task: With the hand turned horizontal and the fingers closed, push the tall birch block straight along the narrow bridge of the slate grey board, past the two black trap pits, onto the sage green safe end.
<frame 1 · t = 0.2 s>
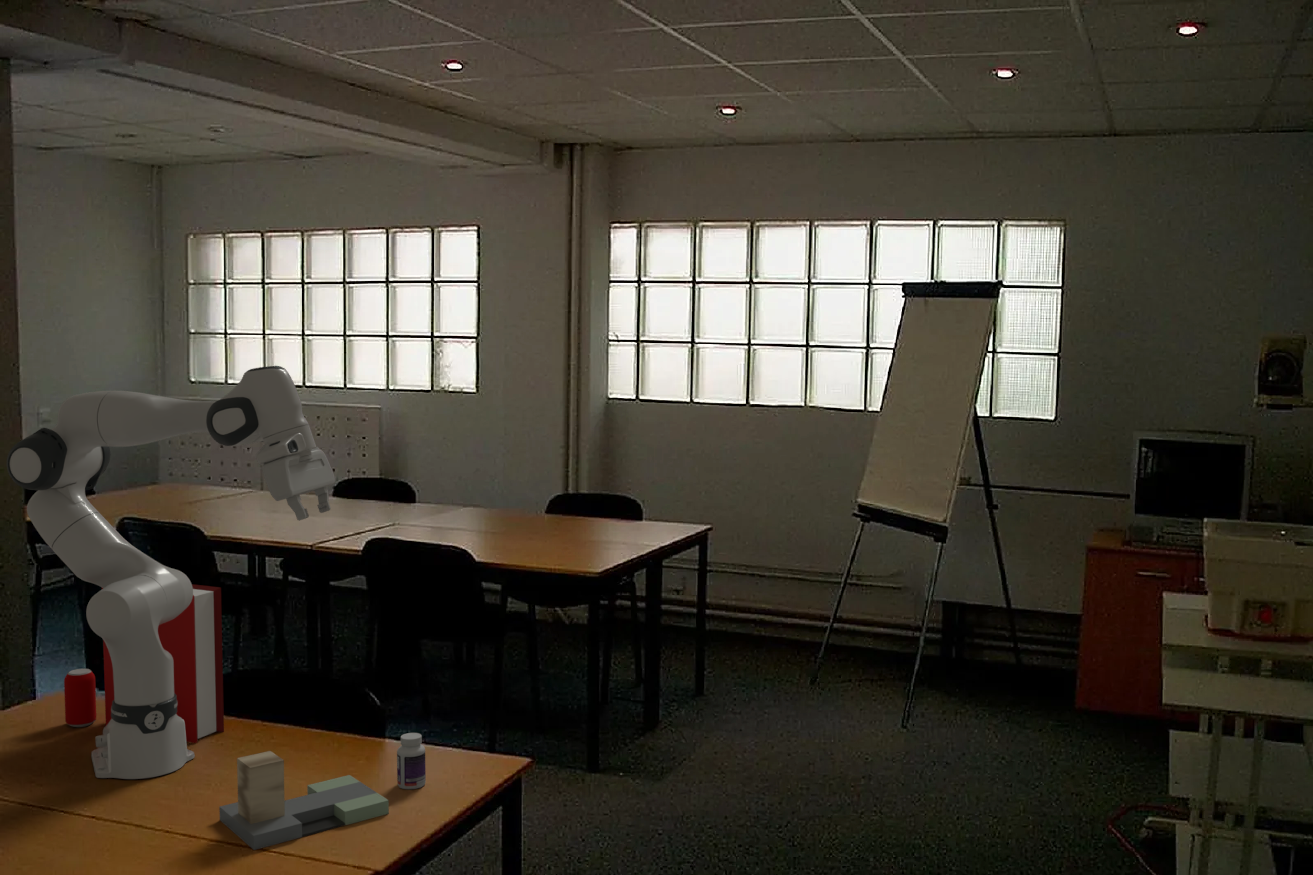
hand: (314, 515, 229), 52 cm above the table, tool tilted 20°, fingers open, 8 cm apart
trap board: (304, 816, 217), on the table
beverage can: (81, 725, 266), on the table
pill bottle: (411, 785, 233), on the table
book: (162, 729, 264), on the table
birch block: (261, 814, 212), point 2 cm above the table, touching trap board
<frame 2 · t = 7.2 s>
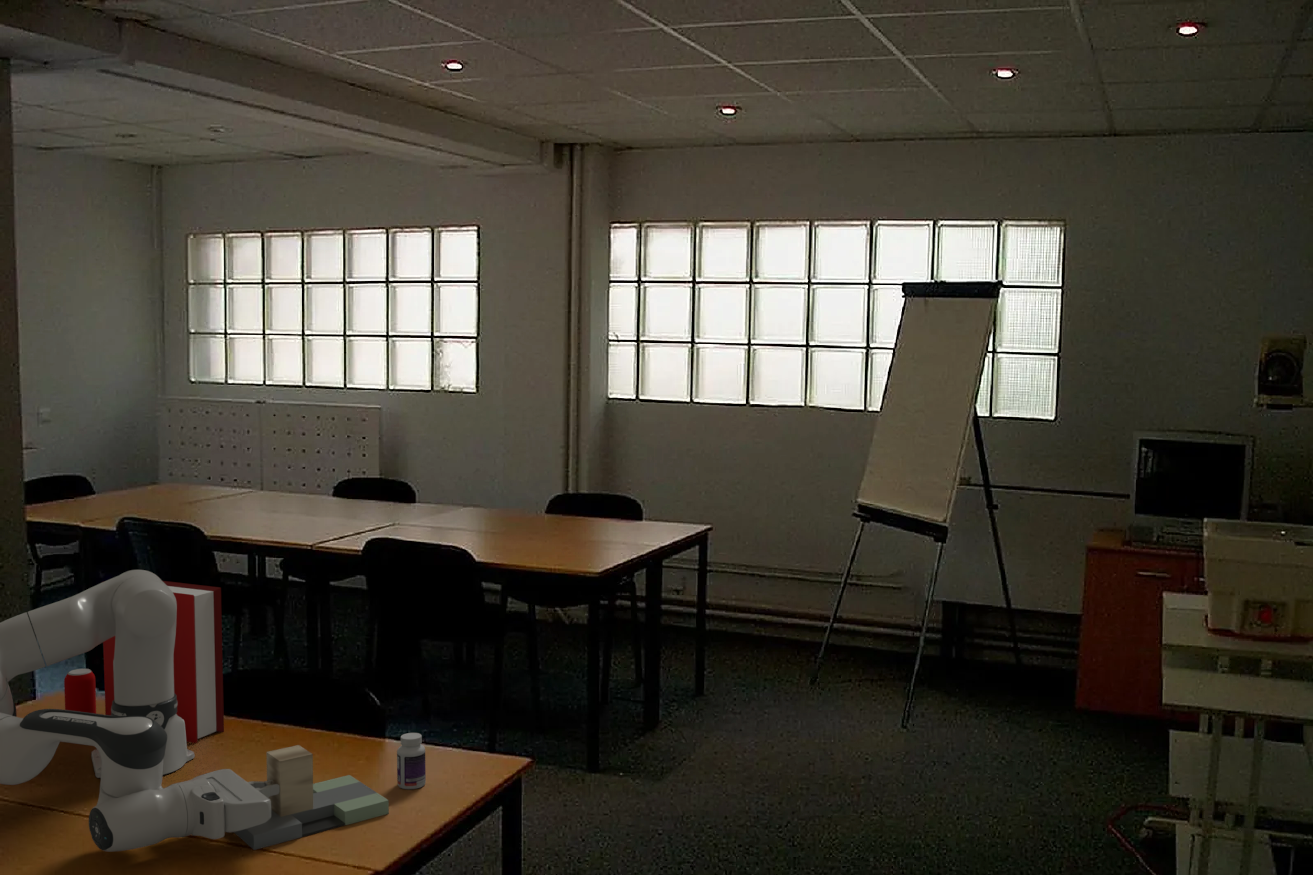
hand: (276, 786, 211), 8 cm above the table, tool horizontal, fingers closed
birch block: (290, 807, 215), point 3 cm above the table, touching gripper
everything else where it was.
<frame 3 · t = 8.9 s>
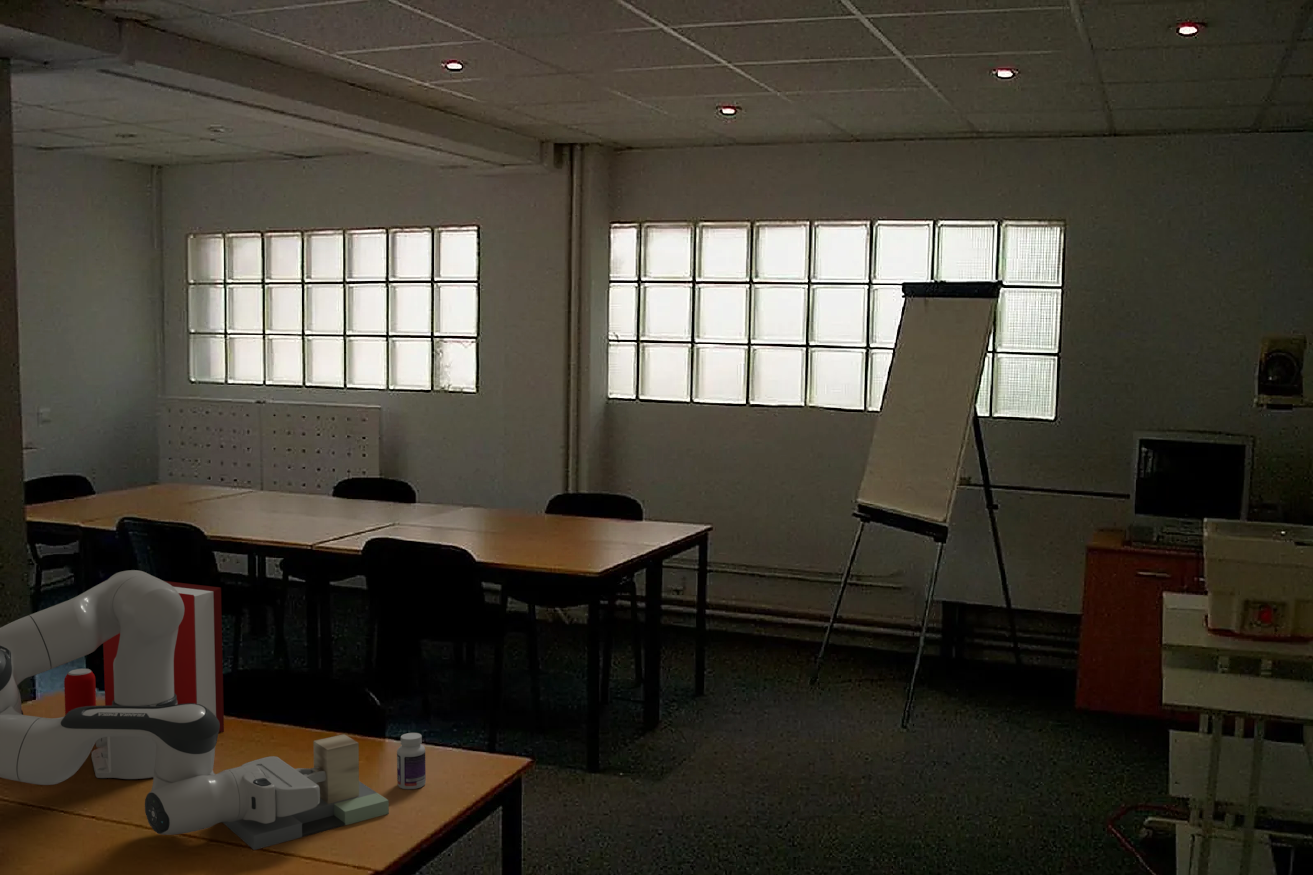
hand: (322, 773, 218), 8 cm above the table, tool horizontal, fingers closed, pressing on birch block
birch block: (336, 794, 221), point 2 cm above the table, touching gripper, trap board
everything else where it was.
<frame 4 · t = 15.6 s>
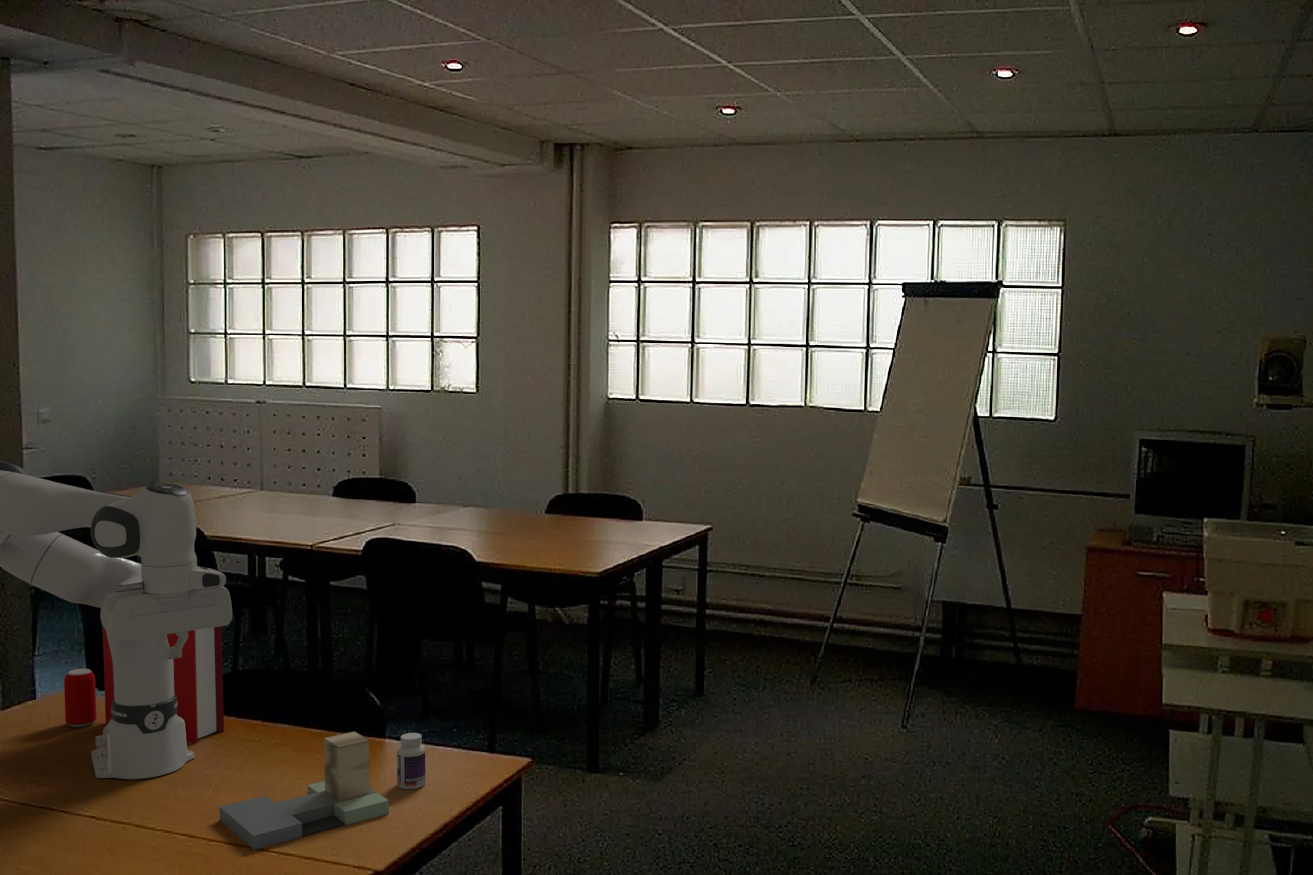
hand: (171, 658, 207), 31 cm above the table, tool pointing down, fingers closed
birch block: (347, 791, 222), point 2 cm above the table, touching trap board
everything else where it was.
at the end: birch block 0.7 cm from the target spot on the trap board, point 2.5 cm above the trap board's base; birch block tilted 0°; birch block moved 16.4 cm from its start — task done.
